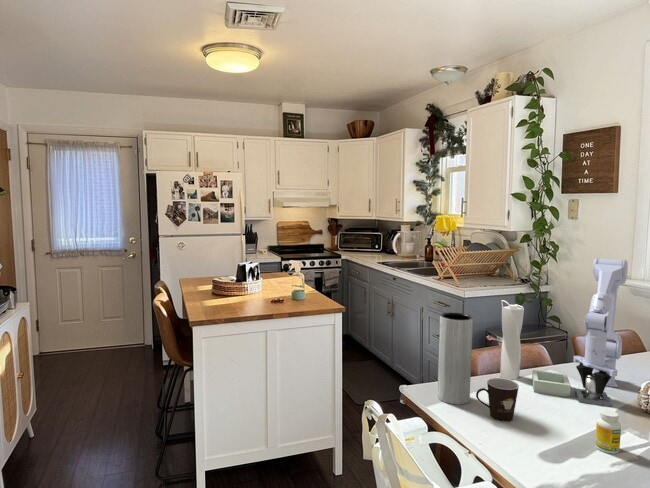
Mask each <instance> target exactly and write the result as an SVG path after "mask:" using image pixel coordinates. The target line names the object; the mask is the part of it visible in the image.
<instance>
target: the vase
mask: <svg viewBox="0 0 650 488" xmlns="http://www.w3.org/2000/svg"><path fill="white" fill-rule="evenodd" d="M473 322H474V320H473V316H472V315H470V314H466V313H464V312H463V313H462V312H444V313H441V314H440V316H439V339H438V342H439V343H438V344H439V345H438V367H437V368H438V369H437V373H438V374H437V398H438V400H440V401H442V402H443V403H446V404H450V405H465V404H467V403H469V402H470V400H471V399H470V397H471V396H470V395H471V375H472V369H471V368H472V351H473V350H472V348H473V326H474V325H473Z"/></svg>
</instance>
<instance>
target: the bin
mask: <svg viewBox="0 0 650 488" xmlns="http://www.w3.org/2000/svg"><path fill="white" fill-rule="evenodd" d="M531 376H532V377H531V382H532V383H531V384H532V389H533V392H534V393H536V394H537V393H538V394H544V395H550V396H557V397H565V398H571V391H572V390H571V387H572V386H571V382H570V380H569V379H570V378H569V377H568V374H566V373H560V372H559V373H558V372H550V371H543V370H535V369H532V375H531Z"/></svg>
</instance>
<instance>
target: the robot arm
mask: <svg viewBox="0 0 650 488" xmlns="http://www.w3.org/2000/svg"><path fill="white" fill-rule="evenodd" d="M628 265H629V264H628V261H627V259H613V258H600V257H596V258H594V260H593V263H592V273H593V275H594V279H595V281H596V282H598V283H597V291H596V293H595V294H593V295H592V298H591V299H590V305H589V310H588V312H586V313H585V316H584V334H585V347H584V356H580V355H573V361H572V362H573V363H577V364H578V363H579V365H576V366H575V367H576V370H577V371H578V374H579V375H580V380H581V383H582V387H583V388H584V389H585V383H586V374H587V373H594V375H595V379H596V393H597V394H603V392H605V388H606V386H607V387H611V388H612V387H613V388H618V387H619V385H618V384H617V382H616V380H615V379H616V377H618V370H617V369H616V366H617V360H619V359H621V357H622V353H623V352H622V351H623V339H622V337H621V335H619V334H618V333H617V332H616V331H614V328H615V319H616V308H617V299H618V298H617V297H618V290H619V288H620V286H621V285H624V284H626V282H627V278H628V276H627V275H628V267H629V266H628ZM583 388H582V389H583Z"/></svg>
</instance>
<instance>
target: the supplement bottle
mask: <svg viewBox="0 0 650 488" xmlns="http://www.w3.org/2000/svg"><path fill="white" fill-rule="evenodd" d="M599 411H600V412H599V413H600V414H599V416H600V417H599V418H597V420H596V428H595V430H596V431H595V442H594V443H595V447H596V449H598V450H599V451H601V452H603V453H605V454H610V453H612V454H613V455H614V454H615V455H616V454H619V453H620V448H621V447H620V446H621V434H622V433H621V432H622V424H621V422H619V418H620V417H619V413H618V412H617V411H614V410H610V409H609V410H608V409H601V410H599Z"/></svg>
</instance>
